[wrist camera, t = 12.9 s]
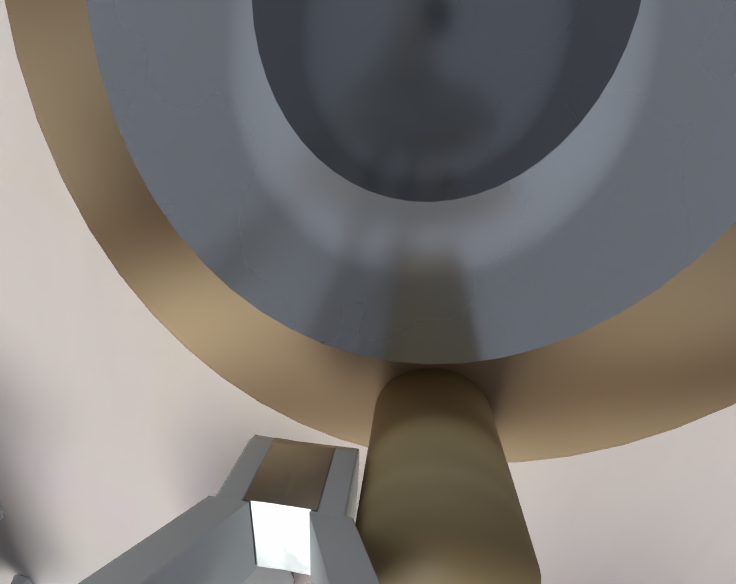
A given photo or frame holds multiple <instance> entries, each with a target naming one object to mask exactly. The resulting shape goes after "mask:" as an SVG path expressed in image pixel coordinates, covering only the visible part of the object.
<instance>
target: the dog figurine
mask: <svg viewBox="0 0 736 584" xmlns="http://www.w3.org/2000/svg"><path fill="white" fill-rule="evenodd" d="M5 515H6V514H5V511H4V509H3V508H2V506H1V505H0V520H1V519H2V518H3V517H4V516H5ZM11 584H33V582H32V580H31V579H30V578H28V577H24V576H21V575H15V576H14V577H13V580H12V582H11Z"/></svg>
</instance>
